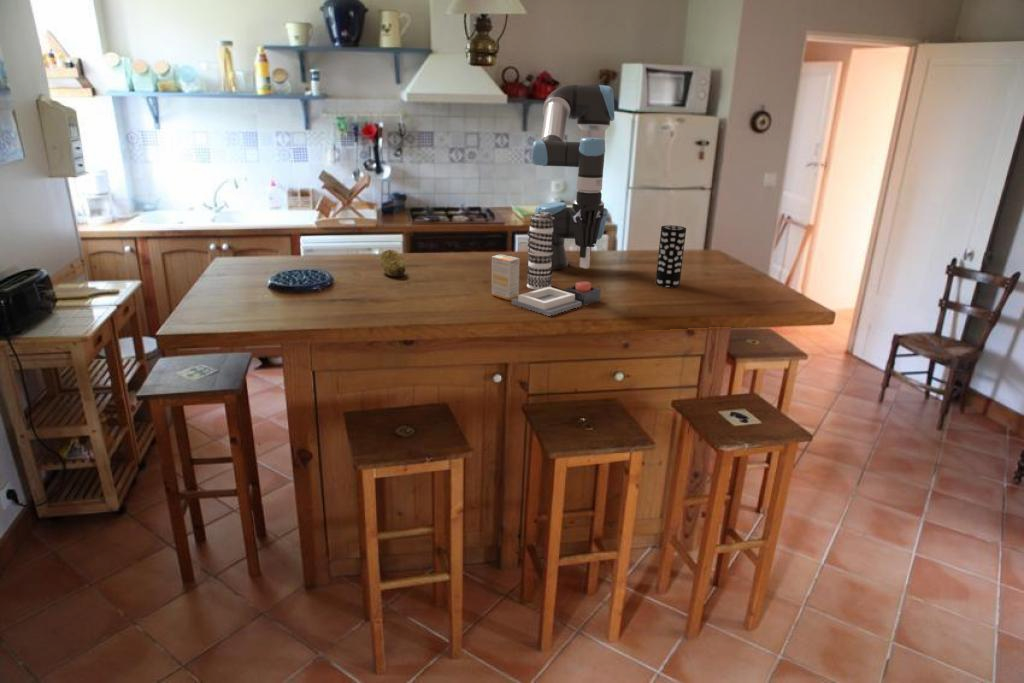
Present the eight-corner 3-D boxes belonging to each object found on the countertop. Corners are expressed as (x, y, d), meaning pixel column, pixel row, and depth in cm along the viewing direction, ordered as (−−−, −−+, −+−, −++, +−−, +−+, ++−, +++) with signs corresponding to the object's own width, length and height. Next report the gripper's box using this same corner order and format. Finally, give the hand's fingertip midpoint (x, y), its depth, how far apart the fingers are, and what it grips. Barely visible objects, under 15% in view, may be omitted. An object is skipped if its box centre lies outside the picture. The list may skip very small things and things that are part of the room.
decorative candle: (520, 286, 229) (522, 213, 220) (535, 281, 236) (538, 209, 227) (542, 292, 224) (545, 216, 215) (557, 286, 231) (561, 213, 222)
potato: (381, 279, 233) (380, 256, 230) (380, 269, 245) (379, 248, 242) (406, 278, 235) (405, 256, 232) (403, 269, 247) (403, 247, 244)
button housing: (564, 300, 216) (565, 288, 215) (580, 295, 221) (581, 283, 220) (583, 306, 211) (584, 293, 209) (599, 301, 216) (600, 289, 215)
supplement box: (519, 298, 217) (520, 258, 213) (509, 301, 214) (510, 260, 209) (501, 292, 222) (501, 253, 218) (490, 295, 219) (491, 255, 214)
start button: (571, 293, 215) (572, 282, 214) (581, 291, 219) (582, 280, 217) (583, 297, 212) (584, 286, 211) (593, 294, 215) (593, 283, 214)
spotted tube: (679, 288, 232) (686, 231, 225) (655, 286, 234) (661, 229, 226) (679, 282, 240) (685, 226, 233) (655, 280, 241) (661, 224, 234)
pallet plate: (511, 304, 211) (511, 293, 210) (544, 295, 221) (544, 284, 220) (548, 316, 200) (549, 305, 199) (581, 306, 210) (582, 296, 209)
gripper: (585, 194, 197) (580, 272, 205) (612, 190, 206) (606, 266, 214) (565, 191, 202) (561, 268, 210) (593, 188, 211) (588, 262, 219)
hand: (584, 267), depth 212 cm, fingers closed
